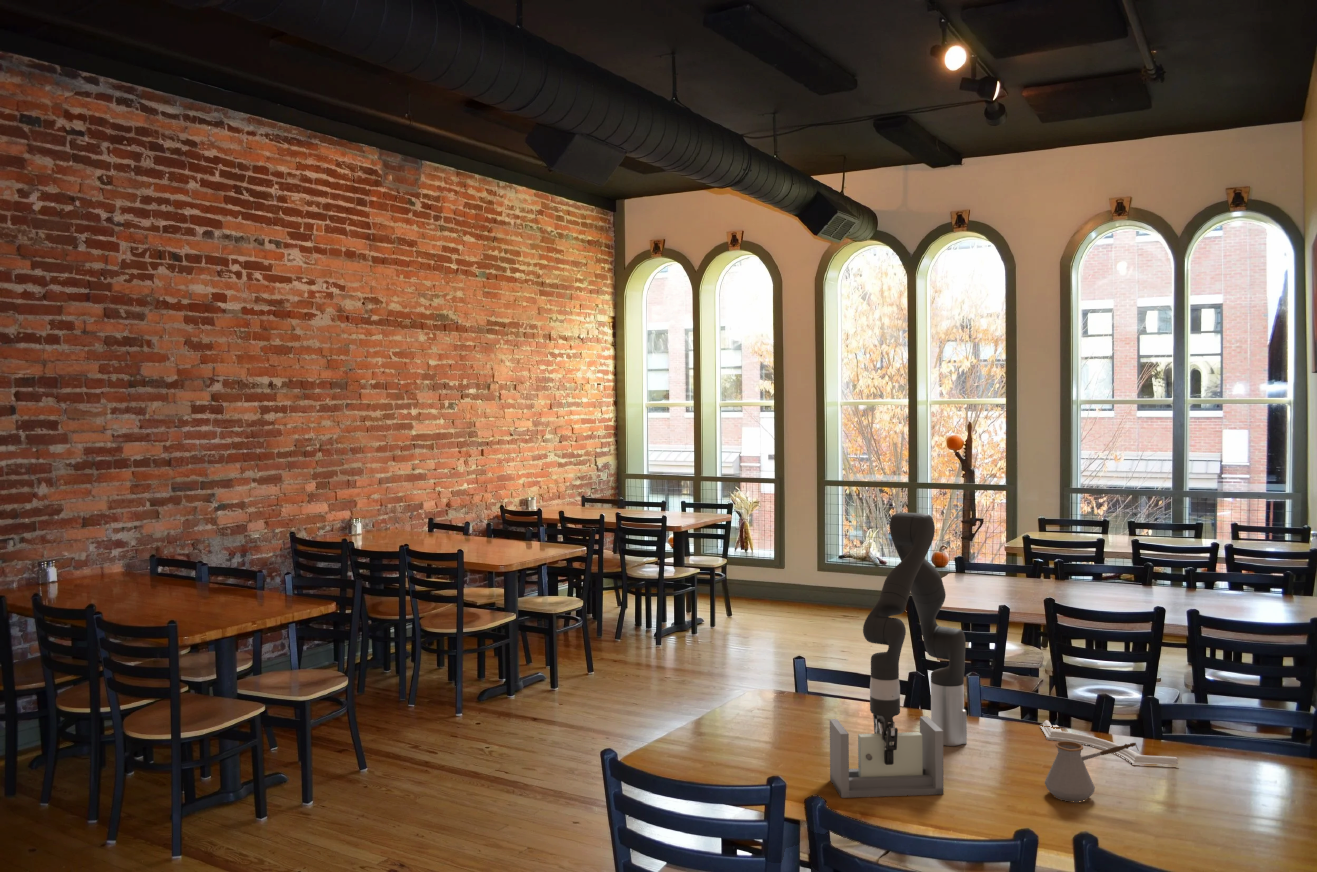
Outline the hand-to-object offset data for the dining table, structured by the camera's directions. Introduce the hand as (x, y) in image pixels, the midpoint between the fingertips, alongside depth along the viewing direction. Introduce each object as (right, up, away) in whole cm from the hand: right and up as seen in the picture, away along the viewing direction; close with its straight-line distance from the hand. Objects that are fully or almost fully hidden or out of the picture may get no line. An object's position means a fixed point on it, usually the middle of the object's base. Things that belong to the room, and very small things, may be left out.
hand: (885, 759), depth 250 cm
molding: (+69, -6, +29) cm, 75 cm away
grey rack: (0, -7, 0) cm, 7 cm away
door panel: (+1, -5, 0) cm, 6 cm away
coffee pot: (+49, -7, -9) cm, 50 cm away
